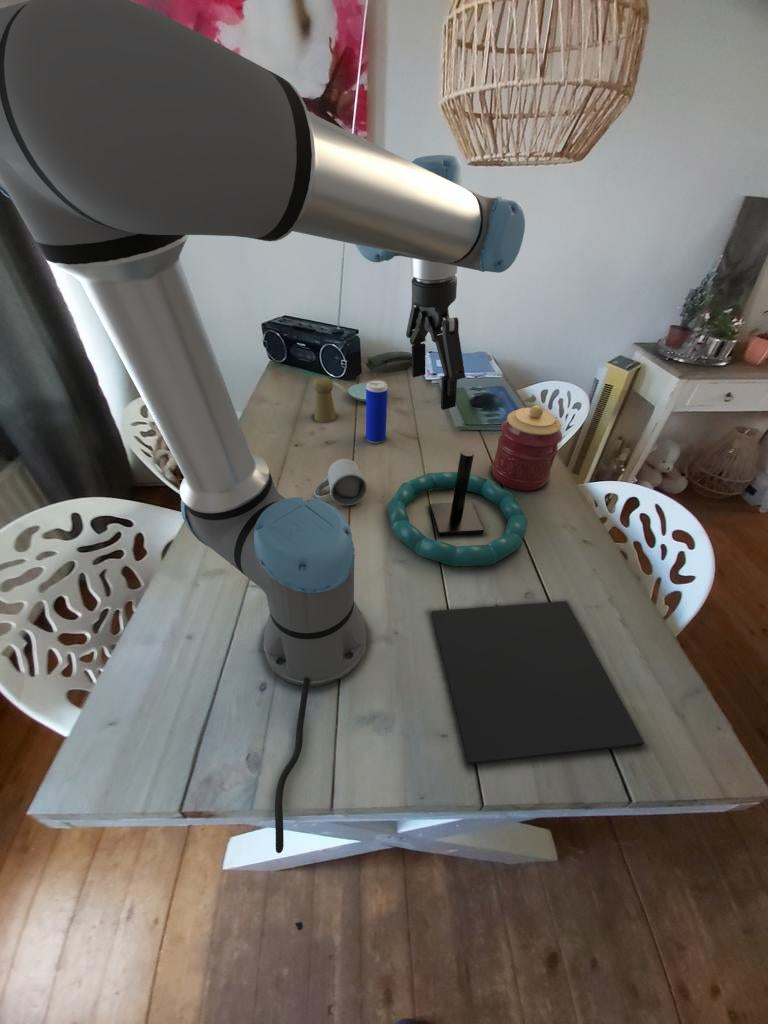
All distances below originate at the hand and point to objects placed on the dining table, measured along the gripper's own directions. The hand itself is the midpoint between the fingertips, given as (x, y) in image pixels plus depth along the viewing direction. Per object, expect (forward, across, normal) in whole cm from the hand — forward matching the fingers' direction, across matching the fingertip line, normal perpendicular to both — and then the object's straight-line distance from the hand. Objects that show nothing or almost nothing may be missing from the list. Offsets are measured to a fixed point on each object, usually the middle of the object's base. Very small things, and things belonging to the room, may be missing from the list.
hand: (432, 390), depth 88 cm
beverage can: (+22, +18, +7) cm, 30 cm away
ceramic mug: (+18, -2, +23) cm, 29 cm away
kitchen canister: (+24, -8, -19) cm, 31 cm away
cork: (+22, +34, +17) cm, 44 cm away
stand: (+20, -18, +3) cm, 27 cm away
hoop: (+18, -18, +3) cm, 25 cm away
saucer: (+25, +43, +1) cm, 49 cm away
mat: (+16, -51, +9) cm, 54 cm away
